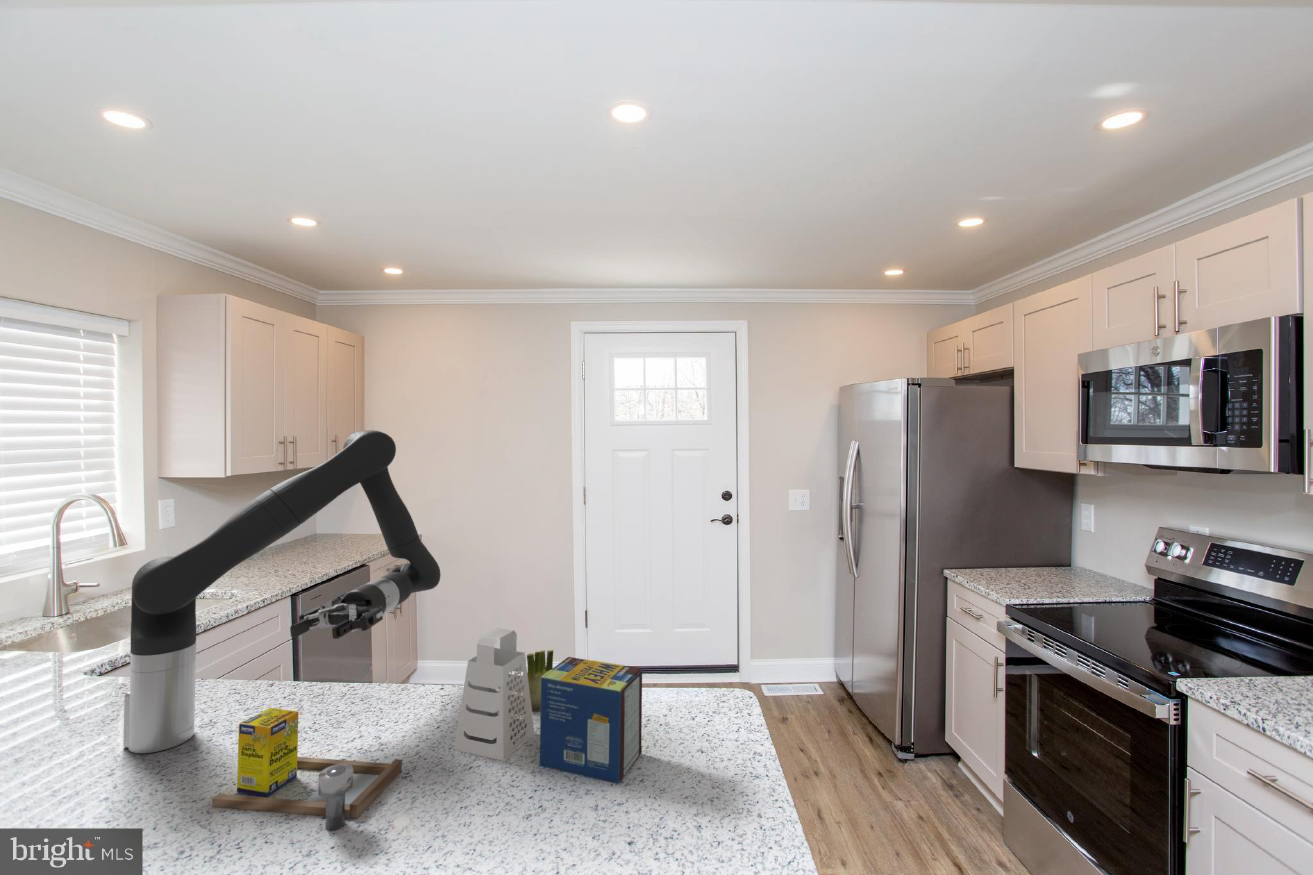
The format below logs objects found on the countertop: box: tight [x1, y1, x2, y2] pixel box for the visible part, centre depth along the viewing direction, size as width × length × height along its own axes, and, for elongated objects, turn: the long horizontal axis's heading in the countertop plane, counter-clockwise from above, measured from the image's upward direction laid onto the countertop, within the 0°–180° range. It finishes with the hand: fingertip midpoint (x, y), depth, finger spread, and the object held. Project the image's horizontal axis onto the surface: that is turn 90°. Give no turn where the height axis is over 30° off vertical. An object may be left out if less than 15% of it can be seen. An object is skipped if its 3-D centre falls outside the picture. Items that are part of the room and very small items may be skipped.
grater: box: [453, 627, 536, 762], centre depth 109 cm, size 10×10×20 cm
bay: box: [211, 756, 403, 819], centre depth 94 cm, size 23×12×2 cm, turn 84°
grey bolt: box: [317, 764, 354, 832], centre depth 85 cm, size 4×4×8 cm
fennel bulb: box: [526, 649, 554, 711], centre depth 123 cm, size 6×5×12 cm
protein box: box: [538, 656, 643, 784], centre depth 103 cm, size 10×15×16 cm
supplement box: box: [236, 707, 299, 798], centre depth 94 cm, size 6×6×11 cm
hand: (313, 632), depth 105 cm, fingers open, 8 cm apart
